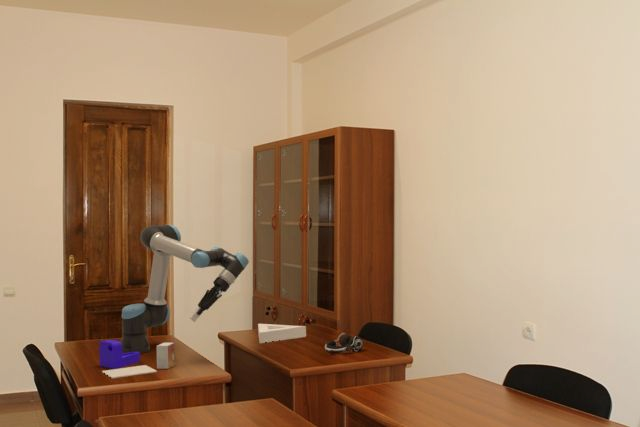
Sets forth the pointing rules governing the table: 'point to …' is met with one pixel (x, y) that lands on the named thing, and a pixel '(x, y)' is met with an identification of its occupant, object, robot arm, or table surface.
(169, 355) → the small box
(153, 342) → the table surface
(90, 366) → the table surface
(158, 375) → the table surface
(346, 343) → the headset
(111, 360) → the bracket
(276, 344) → the table surface
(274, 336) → the triangular ruler
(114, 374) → the mat
